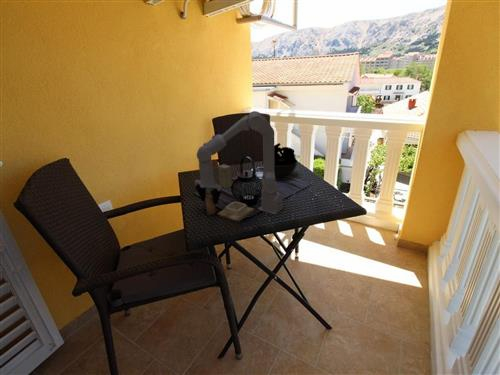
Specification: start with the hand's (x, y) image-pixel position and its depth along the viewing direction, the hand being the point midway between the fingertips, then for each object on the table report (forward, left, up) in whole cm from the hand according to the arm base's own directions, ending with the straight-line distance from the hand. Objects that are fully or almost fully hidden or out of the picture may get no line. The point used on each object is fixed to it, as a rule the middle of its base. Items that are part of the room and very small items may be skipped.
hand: (209, 201), depth 119 cm
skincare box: (+14, -27, -6) cm, 31 cm away
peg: (0, 0, -6) cm, 6 cm away
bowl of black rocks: (-5, -55, -6) cm, 56 cm away
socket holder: (-10, -6, -6) cm, 13 cm away
